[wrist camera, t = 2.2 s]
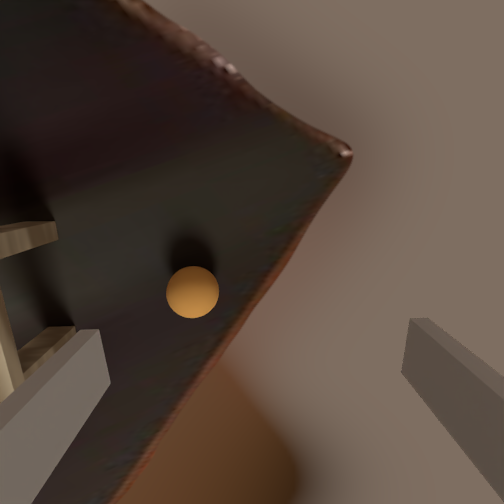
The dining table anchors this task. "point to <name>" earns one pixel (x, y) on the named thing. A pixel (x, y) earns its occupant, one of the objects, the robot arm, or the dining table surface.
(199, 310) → the ball
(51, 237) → the bridge
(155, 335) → the dining table surface
